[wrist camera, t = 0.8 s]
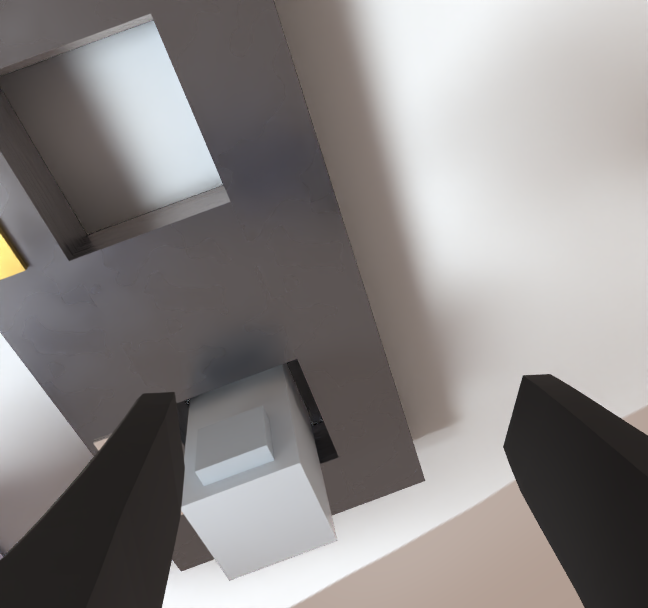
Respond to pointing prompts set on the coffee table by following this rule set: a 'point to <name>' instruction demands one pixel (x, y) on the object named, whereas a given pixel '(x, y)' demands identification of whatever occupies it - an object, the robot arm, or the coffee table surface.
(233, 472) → the plug
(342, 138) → the coffee table surface
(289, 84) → the panel
